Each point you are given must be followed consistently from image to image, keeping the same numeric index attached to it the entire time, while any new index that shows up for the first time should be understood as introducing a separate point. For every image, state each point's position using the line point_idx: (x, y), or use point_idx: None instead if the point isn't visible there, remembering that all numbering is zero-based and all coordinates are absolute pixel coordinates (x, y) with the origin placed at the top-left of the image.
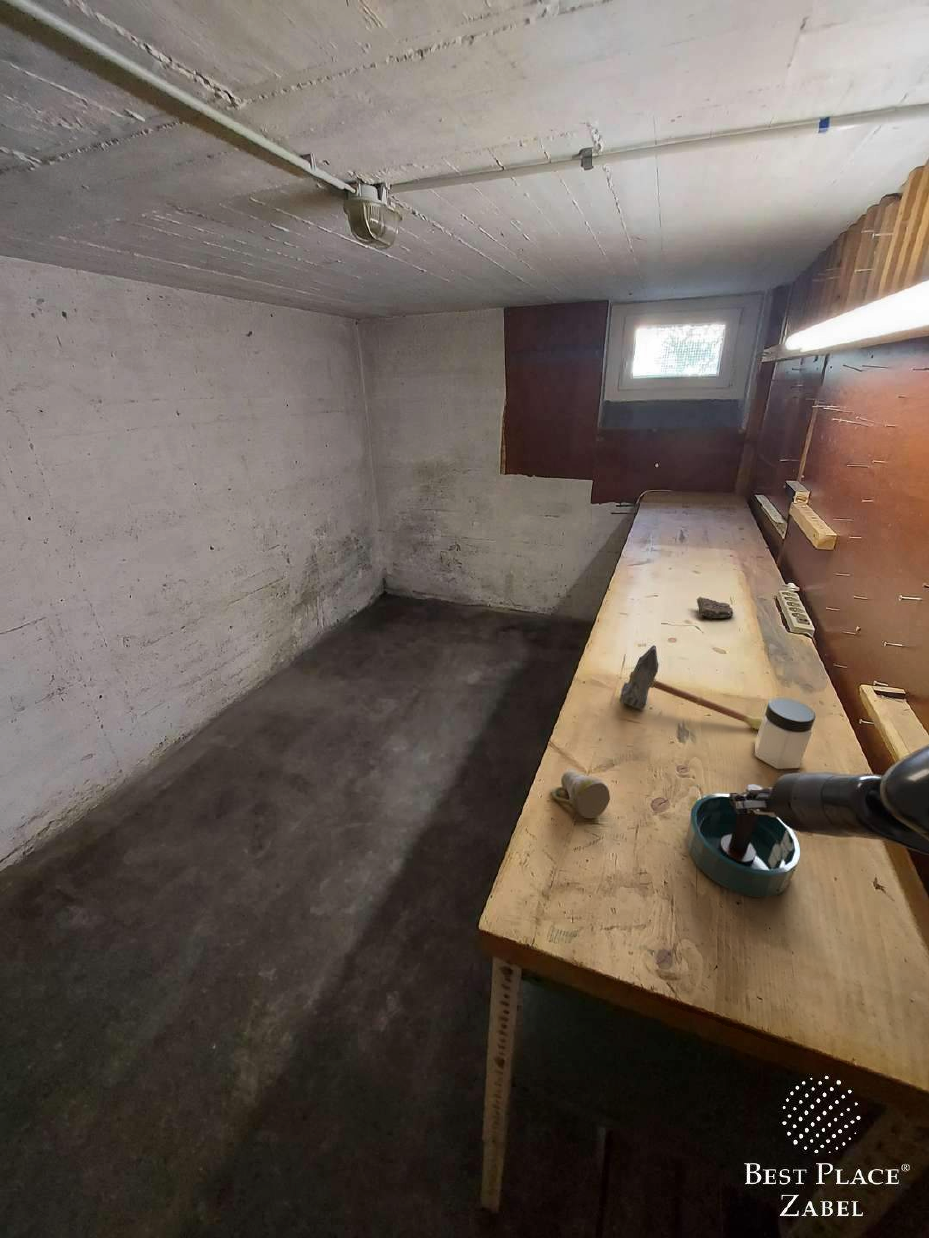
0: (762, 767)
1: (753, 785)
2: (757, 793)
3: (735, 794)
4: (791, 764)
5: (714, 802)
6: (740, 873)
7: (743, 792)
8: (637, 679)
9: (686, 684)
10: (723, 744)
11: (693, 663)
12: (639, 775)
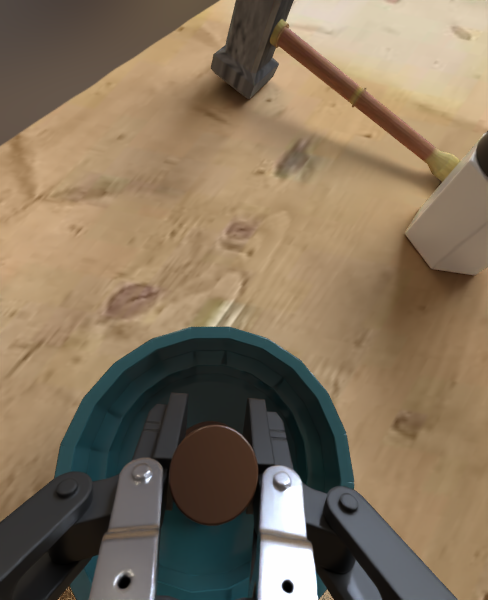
0: (404, 260)
1: (221, 436)
2: (123, 588)
3: (19, 528)
4: (465, 268)
5: (211, 344)
6: None
7: (133, 476)
8: (242, 12)
9: (365, 74)
10: (358, 197)
11: (403, 42)
12: (140, 226)
